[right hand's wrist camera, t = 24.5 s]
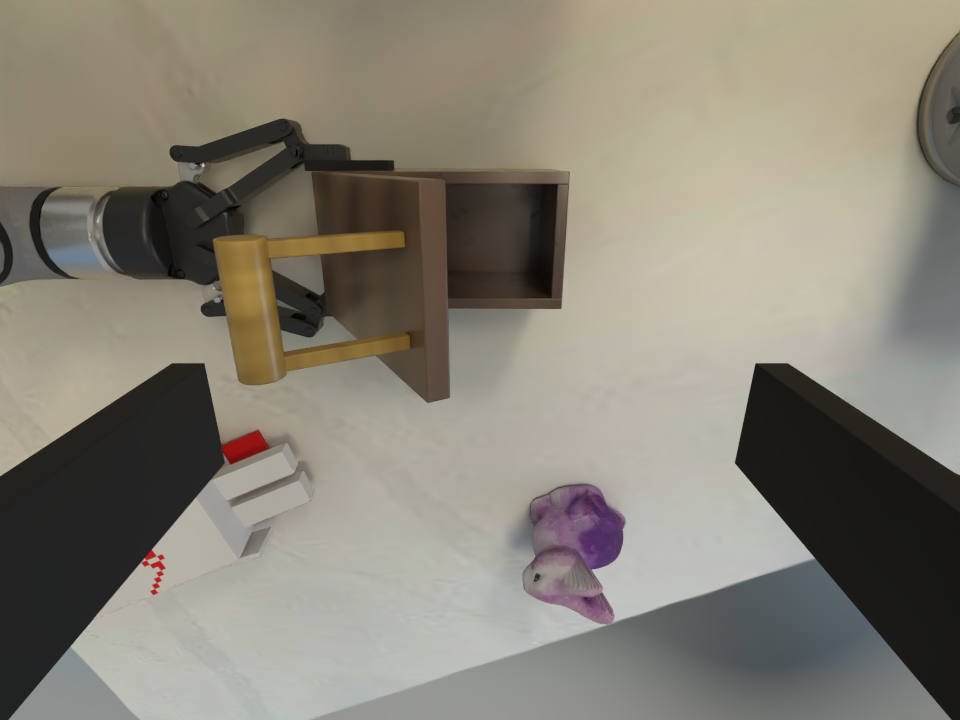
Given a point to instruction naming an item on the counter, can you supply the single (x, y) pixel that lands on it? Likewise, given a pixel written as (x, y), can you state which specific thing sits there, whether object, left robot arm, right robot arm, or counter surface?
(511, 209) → the chest
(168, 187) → the left robot arm
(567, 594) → the figurine
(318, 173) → the lid
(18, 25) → the counter surface
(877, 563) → the right robot arm
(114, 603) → the toy
